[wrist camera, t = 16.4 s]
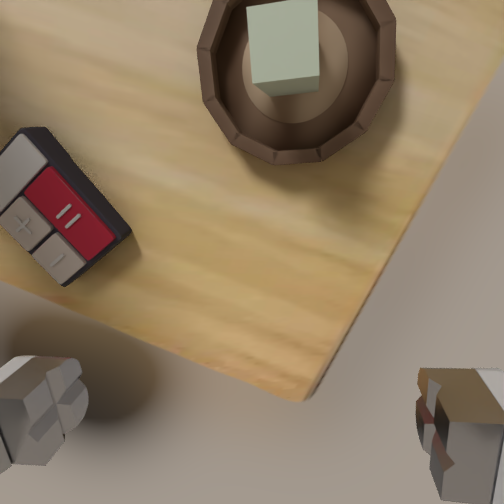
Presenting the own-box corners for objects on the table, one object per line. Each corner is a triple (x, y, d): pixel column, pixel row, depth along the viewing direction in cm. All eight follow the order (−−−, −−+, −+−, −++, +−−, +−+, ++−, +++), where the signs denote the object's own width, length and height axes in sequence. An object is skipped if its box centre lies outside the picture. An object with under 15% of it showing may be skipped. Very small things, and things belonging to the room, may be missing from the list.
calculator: (59, 291, 42) (-40, 191, 39) (80, 276, 46) (-9, 184, 43) (120, 240, 39) (16, 125, 36) (137, 228, 43) (44, 124, 40)
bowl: (218, 168, 38) (210, 171, 35) (196, -22, 33) (185, -36, 30) (386, 155, 35) (393, 157, 32) (392, -58, 29) (400, -77, 27)
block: (270, 96, 34) (252, 83, 24) (266, 43, 32) (246, 7, 23) (318, 91, 33) (319, 75, 23) (316, 36, 31) (317, -5, 22)
